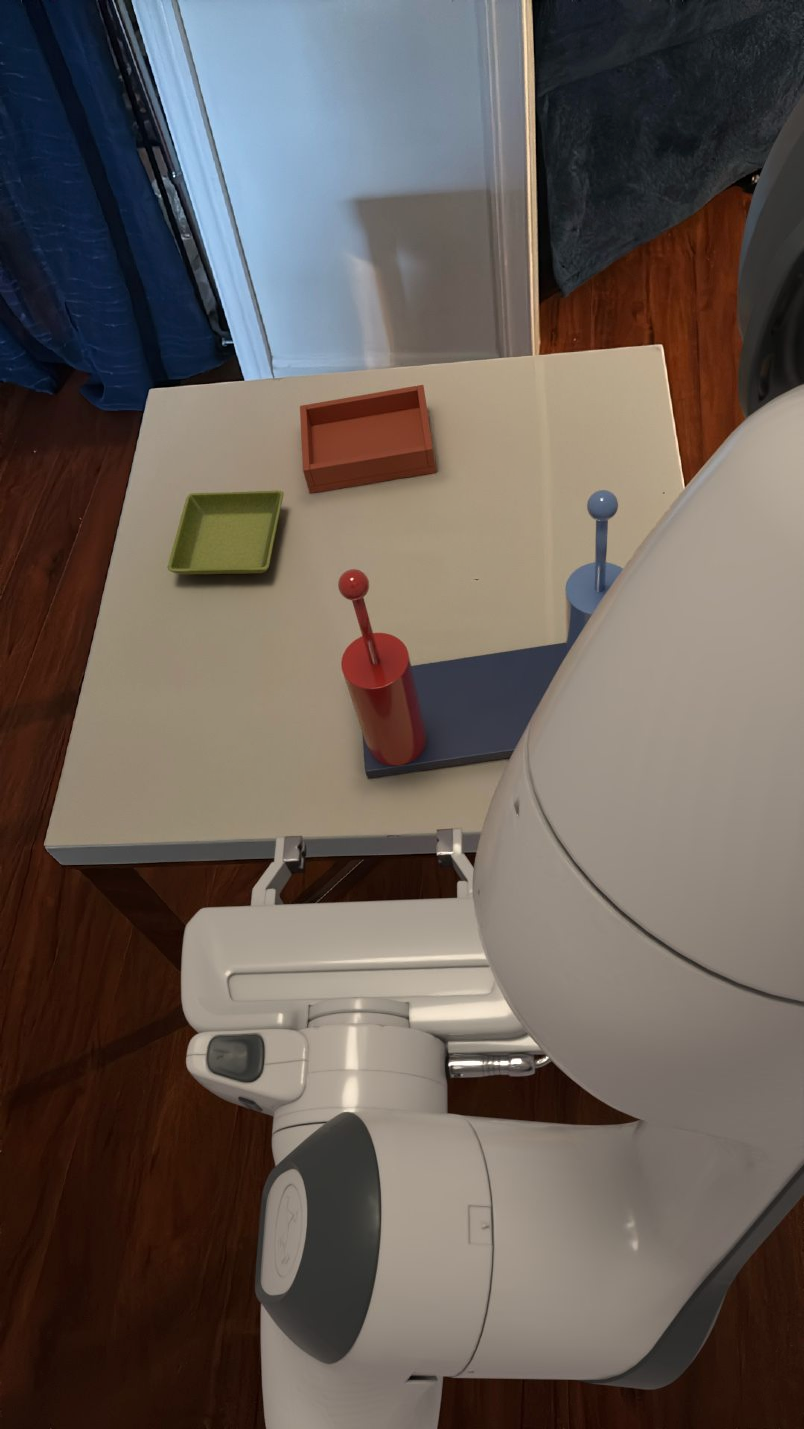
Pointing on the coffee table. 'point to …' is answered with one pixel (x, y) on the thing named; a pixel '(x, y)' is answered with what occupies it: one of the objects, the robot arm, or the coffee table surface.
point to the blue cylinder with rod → (591, 570)
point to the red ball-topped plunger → (381, 684)
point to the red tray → (366, 439)
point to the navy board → (476, 706)
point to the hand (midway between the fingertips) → (370, 836)
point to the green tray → (226, 533)
